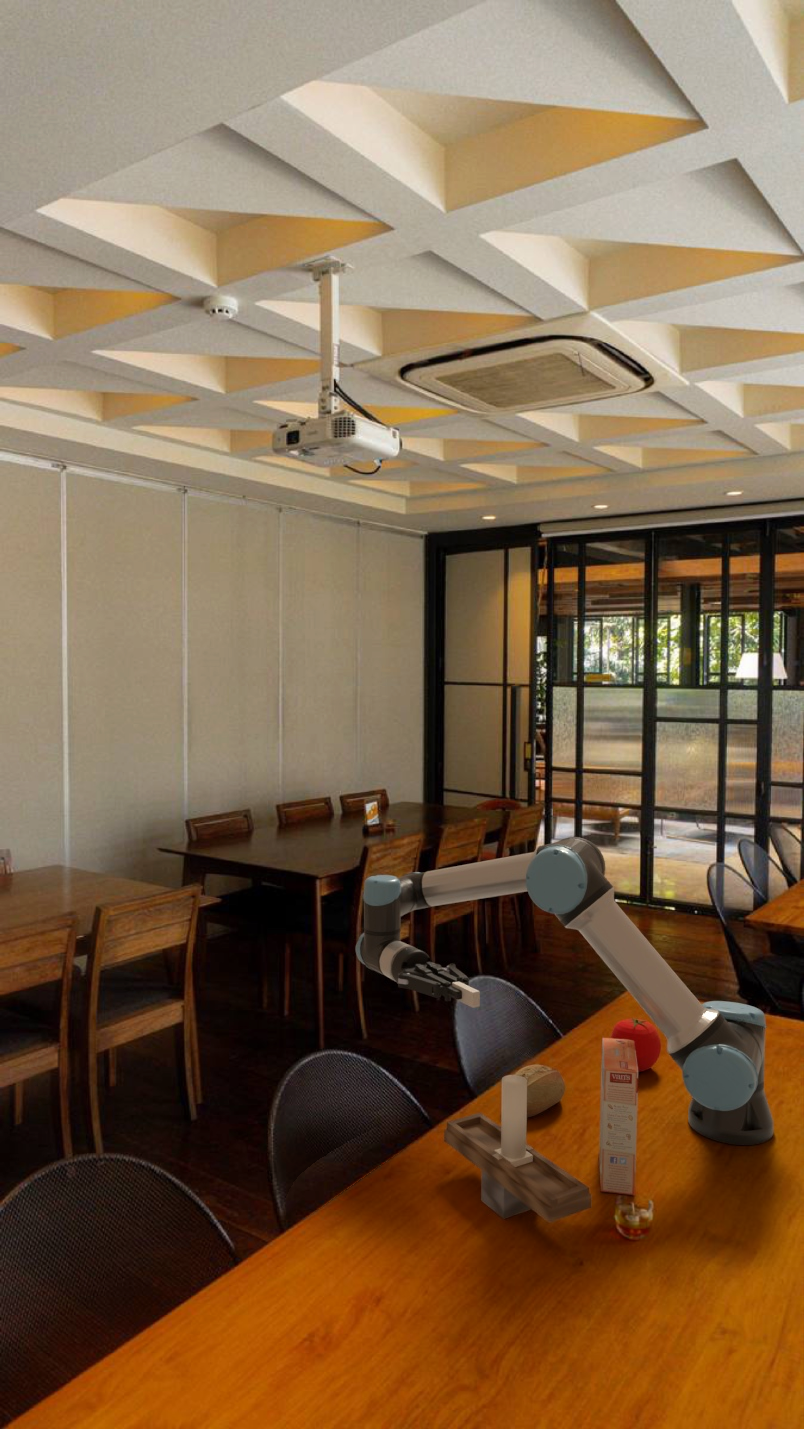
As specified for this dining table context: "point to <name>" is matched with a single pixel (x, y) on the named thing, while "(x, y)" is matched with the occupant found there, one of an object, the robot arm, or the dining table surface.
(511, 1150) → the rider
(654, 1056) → the tomato
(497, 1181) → the beam
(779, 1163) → the dining table surface
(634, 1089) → the cracker box
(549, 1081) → the bread roll
